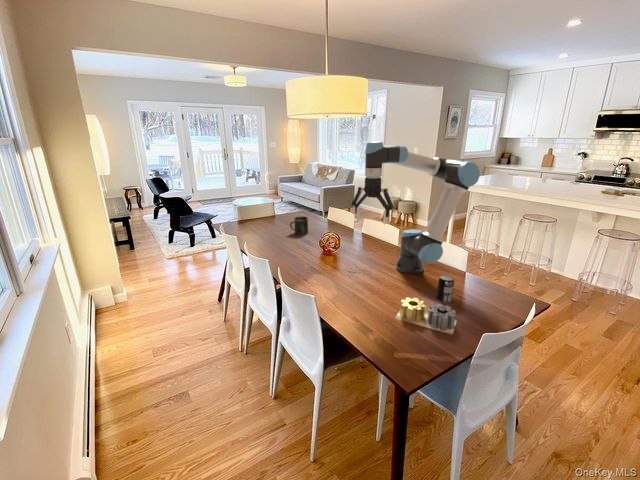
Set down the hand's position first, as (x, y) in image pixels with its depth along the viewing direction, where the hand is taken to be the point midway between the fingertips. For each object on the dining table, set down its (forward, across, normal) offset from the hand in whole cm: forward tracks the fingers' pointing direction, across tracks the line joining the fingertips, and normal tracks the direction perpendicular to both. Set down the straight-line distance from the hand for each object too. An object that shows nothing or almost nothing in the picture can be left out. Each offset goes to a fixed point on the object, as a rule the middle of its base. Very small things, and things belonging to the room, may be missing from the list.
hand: (371, 221), depth 152 cm
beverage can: (+35, +36, +4) cm, 50 cm away
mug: (+35, -82, +58) cm, 106 cm away
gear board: (+35, +32, -18) cm, 51 cm away
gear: (+34, +38, -18) cm, 54 cm away
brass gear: (+34, +27, -18) cm, 47 cm away
